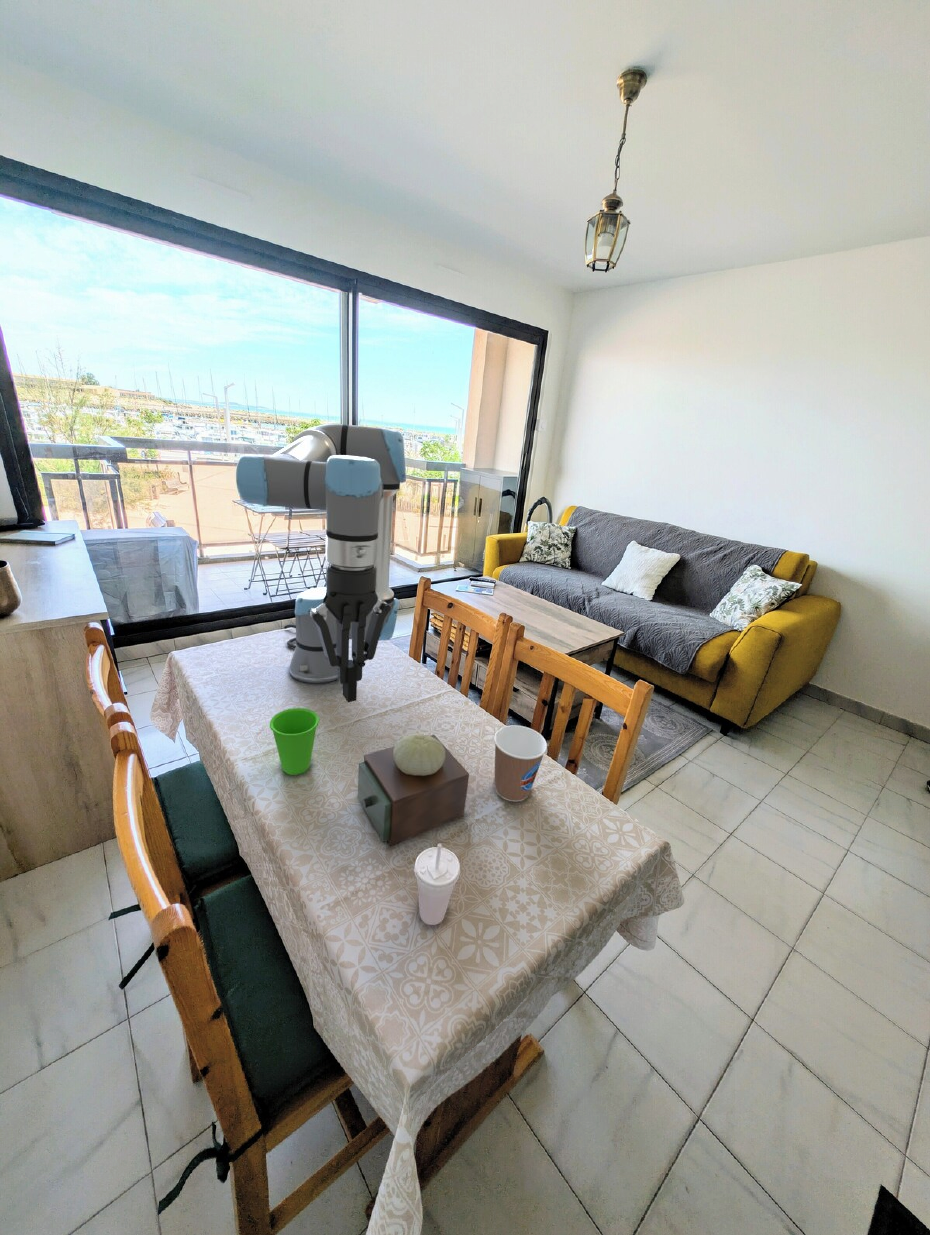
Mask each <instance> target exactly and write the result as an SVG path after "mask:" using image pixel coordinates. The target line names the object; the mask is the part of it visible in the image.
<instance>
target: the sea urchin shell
mask: <svg viewBox="0 0 930 1235" xmlns="http://www.w3.org/2000/svg"><path fill="white" fill-rule="evenodd" d="M442 744H443V742H442V741H440V742H439V741H438V740H437V739H436V738H433V737H431V736H430V734H425V733H423V732H418V733H417V732H416V733H412V734H409V735H405V736H404V737H402V738H401V739H399V740H398V741H397V742H395V745H393V746H394V751H393V757H394V760H395V763H396V765H397V767H398V768H399V769H400V770H401V771H402V772H404V773H406V774H410V775H414V776H415V775H421V776H424V775H431V774H433V773H435V772H437V771H438V770H439V769H440V768H441V767H442V765H443V763H444V760H445V748H444V746H445V745H444V744H443V745H444V746H443V745H442Z"/></svg>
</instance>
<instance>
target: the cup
mask: <svg viewBox="0 0 930 1235" xmlns="http://www.w3.org/2000/svg"><path fill="white" fill-rule="evenodd" d="M319 723H320V717H319V715H318V714H317V712H315V711H314V710H311V709H308V708H303V707H295V708H288V709H285V710H282V711H280V712H278V713H276V714H275V715H273V717H272V718H271V719H270V721H269V728H270V730H271V731H272V734H273V738H274V742H275V746H276V748H277V753H278V757H279V760H280V765H281V768H282V771H283V772H284V773H286V774H287V775H290V776H298V775H302V774H304V773H306V772H307V770H308V769H309V767H310V765H311V761H312V755H313V749H314V744H315V738H316V733H317V727H318V726H319Z"/></svg>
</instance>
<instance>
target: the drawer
mask: <svg viewBox="0 0 930 1235" xmlns="http://www.w3.org/2000/svg"><path fill="white" fill-rule="evenodd" d="M357 768H358V770H357V772H358V773H357V798H358V799H357V800H358V801H359V802H360V804H361V806H362V808H363V809H364V811H365V813H366V814H367V816H368V819H369V820H370V822H371V823H372V825H373V827H374V829H375V830H376V832H377V834H378V836H379V837H380V840H381V841H382V843H384V842H388V840H389V838H390V822H391V806H392V803H391V801H390V799H389V797H388V796H387V794H386V793H385V791H384V790H383V788H382V787H381V785H380V783H379V782H378V780H377V779H376V777H375V776H374V774H372V772H371V770H370V769H369V767H368V766H367V764H366V763H365V761H364V760H363V761H361V762H358V767H357Z"/></svg>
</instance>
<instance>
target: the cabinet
mask: <svg viewBox="0 0 930 1235" xmlns="http://www.w3.org/2000/svg"><path fill="white" fill-rule="evenodd" d="M429 736H431V737H433V738H436V739H437V740H438V741H439V742H441V740H440V739H439V738H438V737H437V736H436V735H435V734H431V735H430V734H429ZM442 745H443V746H444V748H445V760H444V763H443V765H442V767H441V768H440V769H439V770H438V771H437V772H435V773H433V774H431V775H424V776H421V775H415V776H414V775H410V774H406V773H404V772H402V771H401V770H400V769H399V768H398V767H397V765H396V763H395V760H394V757H393V751H394V746H395V745H393V746H389V747H386V748H383V749H379V750H376V751H373V752H369V753H365V754H363V762H364V761H365V763H366V764H367V766H368V767H369V769H370V770H371V772H372V774H374V776H375V777H376V779H377V780H378V782H379V783H380V785H381V787H382V788H383V790H384V791H385V793H386V794H387V796H388V797H389V799H390V801H391V803H392V806H391V822H390V838H389V840H387V842H388V844H389V845H390V846H389V847H393V846H395V845H398V844H399V843H402V842H405V841H407V840H408V839H412V838H415V837H416V836H419V835H421V834H424V833H426V832H429V831H431V830H432V829H436V828H438V827H441V826H442V825H445V824H447V823H450V822H452V821H455V820H458V819H459V818H462V817H464V816H465V809H466V808H465V807H466V802H467V795H468V794H467V793H468V788H469V780H470V773H469V772H468V771H467V769H466V768H465V767H464V766H463V764H461V763H460V762H459V760H458V759H457V758H456V757H455V756H454V755H453V753H451V752H450V751H449V749H448V748H447V747H446V746H445V745H444V743H442Z"/></svg>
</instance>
